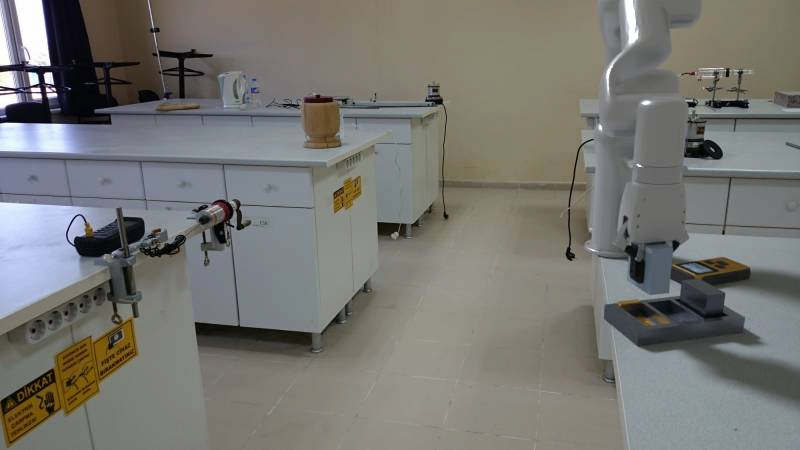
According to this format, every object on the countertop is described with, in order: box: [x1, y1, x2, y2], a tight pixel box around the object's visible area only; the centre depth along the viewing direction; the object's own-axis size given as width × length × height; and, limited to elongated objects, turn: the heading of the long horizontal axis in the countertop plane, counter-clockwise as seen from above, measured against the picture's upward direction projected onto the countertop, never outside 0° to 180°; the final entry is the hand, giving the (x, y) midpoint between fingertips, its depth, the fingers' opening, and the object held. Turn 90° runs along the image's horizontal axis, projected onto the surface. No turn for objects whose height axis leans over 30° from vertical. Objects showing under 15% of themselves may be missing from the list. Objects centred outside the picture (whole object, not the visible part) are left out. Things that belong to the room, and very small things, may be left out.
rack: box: [603, 279, 746, 347], centre depth 108 cm, size 11×20×7 cm, turn 101°
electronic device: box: [670, 256, 751, 286], centre depth 130 cm, size 8×16×3 cm, turn 107°
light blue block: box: [626, 242, 674, 296], centre depth 104 cm, size 7×4×8 cm, turn 11°
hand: (647, 278), depth 105 cm, fingers closed on light blue block, 3 cm apart
